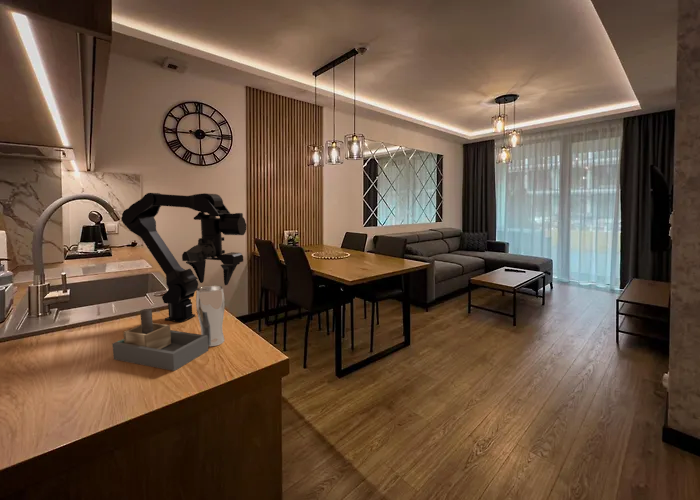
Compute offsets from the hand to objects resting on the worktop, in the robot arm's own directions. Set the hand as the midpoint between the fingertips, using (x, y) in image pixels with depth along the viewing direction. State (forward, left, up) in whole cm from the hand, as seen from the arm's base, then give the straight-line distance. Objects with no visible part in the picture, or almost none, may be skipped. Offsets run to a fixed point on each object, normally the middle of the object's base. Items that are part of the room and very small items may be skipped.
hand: (213, 283), depth 105 cm
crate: (0, -24, -11) cm, 27 cm away
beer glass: (+11, -14, -12) cm, 22 cm away
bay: (+4, -24, -12) cm, 28 cm away
